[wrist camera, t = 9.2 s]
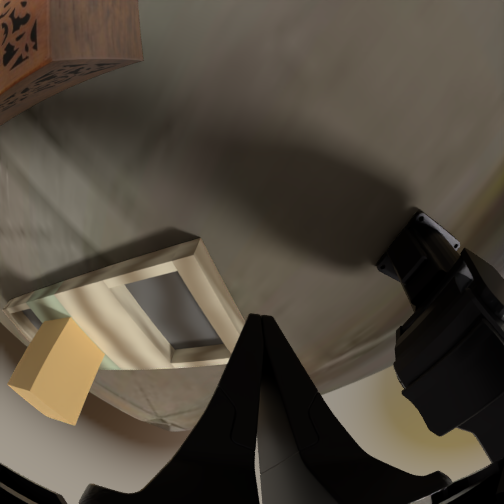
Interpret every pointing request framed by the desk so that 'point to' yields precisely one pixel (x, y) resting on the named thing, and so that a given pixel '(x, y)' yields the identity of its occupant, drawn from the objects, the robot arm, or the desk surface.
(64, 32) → the tissue box cover
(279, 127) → the desk surface
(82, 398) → the ochre block
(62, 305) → the trap board
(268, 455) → the robot arm
